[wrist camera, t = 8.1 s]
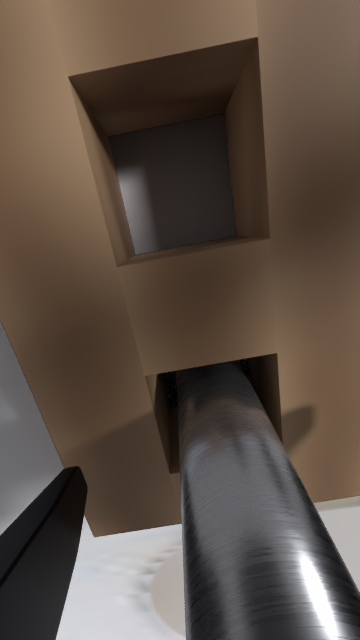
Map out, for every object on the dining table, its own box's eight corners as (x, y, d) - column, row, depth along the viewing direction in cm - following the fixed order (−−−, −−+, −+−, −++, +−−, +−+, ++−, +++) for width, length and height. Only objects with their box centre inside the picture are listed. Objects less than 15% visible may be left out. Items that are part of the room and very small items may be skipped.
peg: (232, 330, 12) (424, 642, 3) (238, 383, 13) (399, 746, 4) (171, 341, 13) (169, 677, 3) (181, 393, 14) (206, 771, 4)
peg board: (327, -10, 9) (449, -200, 5) (324, 424, 14) (378, 493, 11) (-22, 63, 9) (-164, -60, 5) (113, 458, 15) (94, 537, 11)
